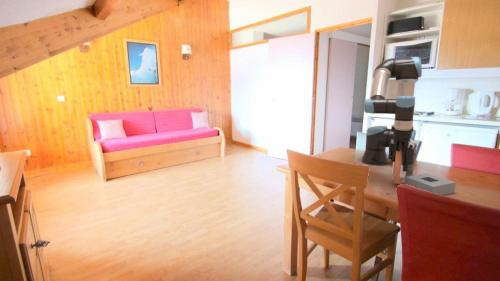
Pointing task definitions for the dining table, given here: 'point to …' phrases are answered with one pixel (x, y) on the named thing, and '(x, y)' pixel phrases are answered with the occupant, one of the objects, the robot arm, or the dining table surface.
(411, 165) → the spray can
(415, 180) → the socket block
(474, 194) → the dining table surface
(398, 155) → the dowel
